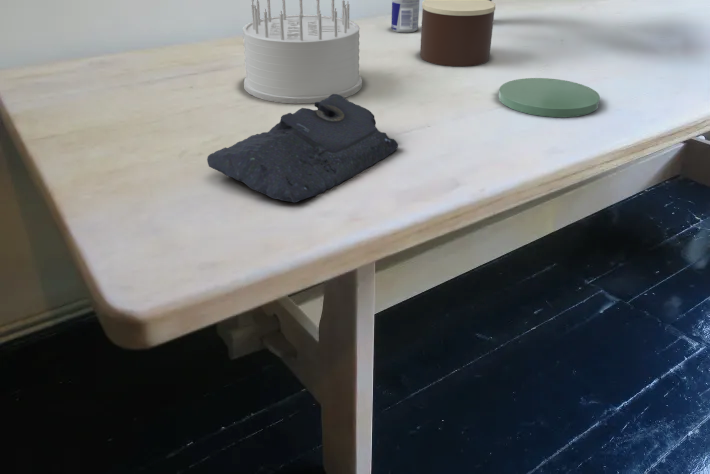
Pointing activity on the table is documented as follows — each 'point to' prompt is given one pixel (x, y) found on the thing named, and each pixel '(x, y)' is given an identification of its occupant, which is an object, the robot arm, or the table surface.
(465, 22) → the cake
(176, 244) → the table surface
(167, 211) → the table surface
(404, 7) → the energy drink
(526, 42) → the table surface
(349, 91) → the cake
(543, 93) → the plate
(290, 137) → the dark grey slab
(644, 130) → the table surface
